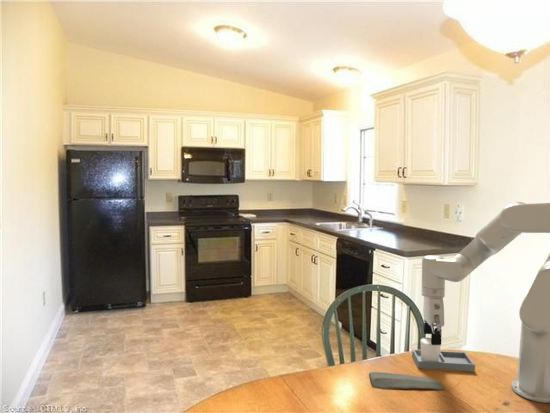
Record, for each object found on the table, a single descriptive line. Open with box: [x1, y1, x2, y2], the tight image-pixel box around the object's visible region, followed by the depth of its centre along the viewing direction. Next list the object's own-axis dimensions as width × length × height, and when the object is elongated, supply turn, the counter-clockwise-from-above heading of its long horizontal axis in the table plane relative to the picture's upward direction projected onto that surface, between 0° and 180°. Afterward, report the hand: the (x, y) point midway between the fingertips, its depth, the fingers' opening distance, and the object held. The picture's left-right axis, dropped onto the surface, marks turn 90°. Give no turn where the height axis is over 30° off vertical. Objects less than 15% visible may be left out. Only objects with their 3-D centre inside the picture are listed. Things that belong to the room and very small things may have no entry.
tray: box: [411, 348, 476, 373], centre depth 147 cm, size 10×19×2 cm, turn 84°
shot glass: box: [419, 337, 442, 362], centre depth 147 cm, size 7×7×7 cm
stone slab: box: [368, 371, 445, 391], centre depth 134 cm, size 22×3×10 cm
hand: (432, 339), depth 147 cm, fingers open, 9 cm apart
